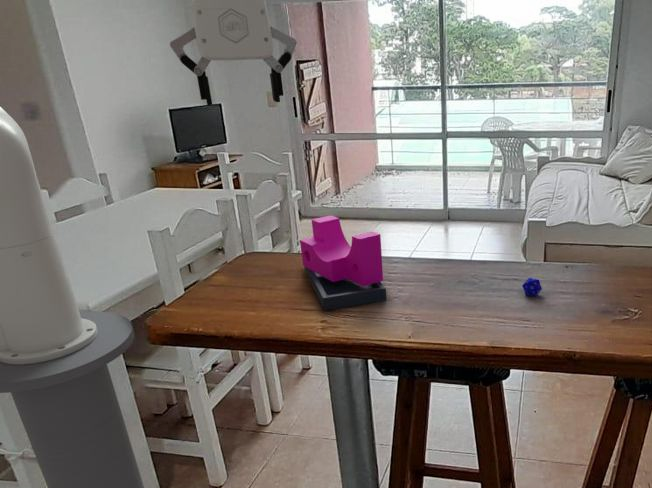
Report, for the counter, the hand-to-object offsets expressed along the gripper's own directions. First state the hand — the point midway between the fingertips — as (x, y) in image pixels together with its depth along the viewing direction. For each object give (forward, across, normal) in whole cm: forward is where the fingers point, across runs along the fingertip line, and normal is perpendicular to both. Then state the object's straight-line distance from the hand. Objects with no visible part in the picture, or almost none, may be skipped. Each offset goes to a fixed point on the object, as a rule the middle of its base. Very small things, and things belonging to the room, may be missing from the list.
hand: (243, 103), depth 85 cm
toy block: (+26, +11, -7) cm, 29 cm away
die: (+28, +37, -23) cm, 52 cm away
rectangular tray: (+28, +11, -7) cm, 31 cm away
